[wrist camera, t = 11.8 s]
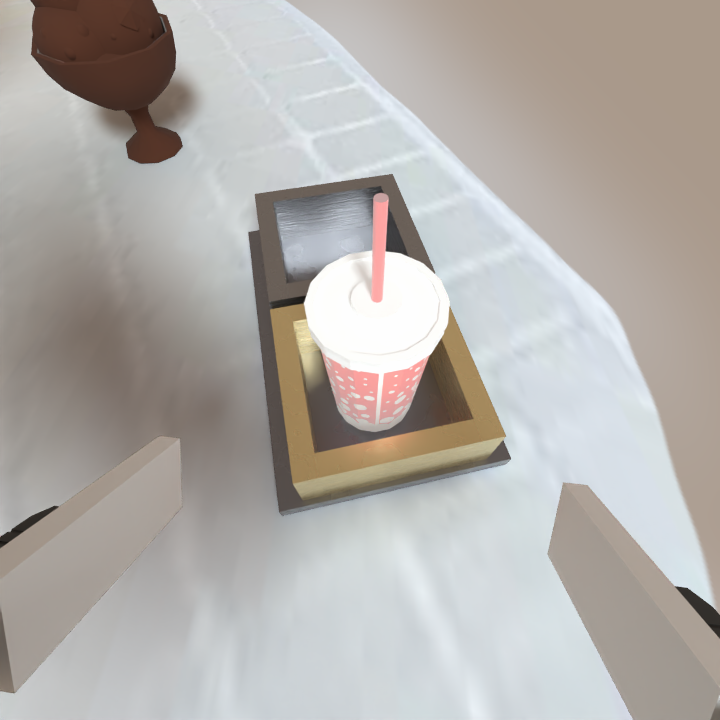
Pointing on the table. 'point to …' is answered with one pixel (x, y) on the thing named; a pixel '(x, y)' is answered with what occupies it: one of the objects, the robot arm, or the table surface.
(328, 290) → the beverage cup
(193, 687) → the table surface
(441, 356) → the square compartment tray
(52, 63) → the ice cream bowl
